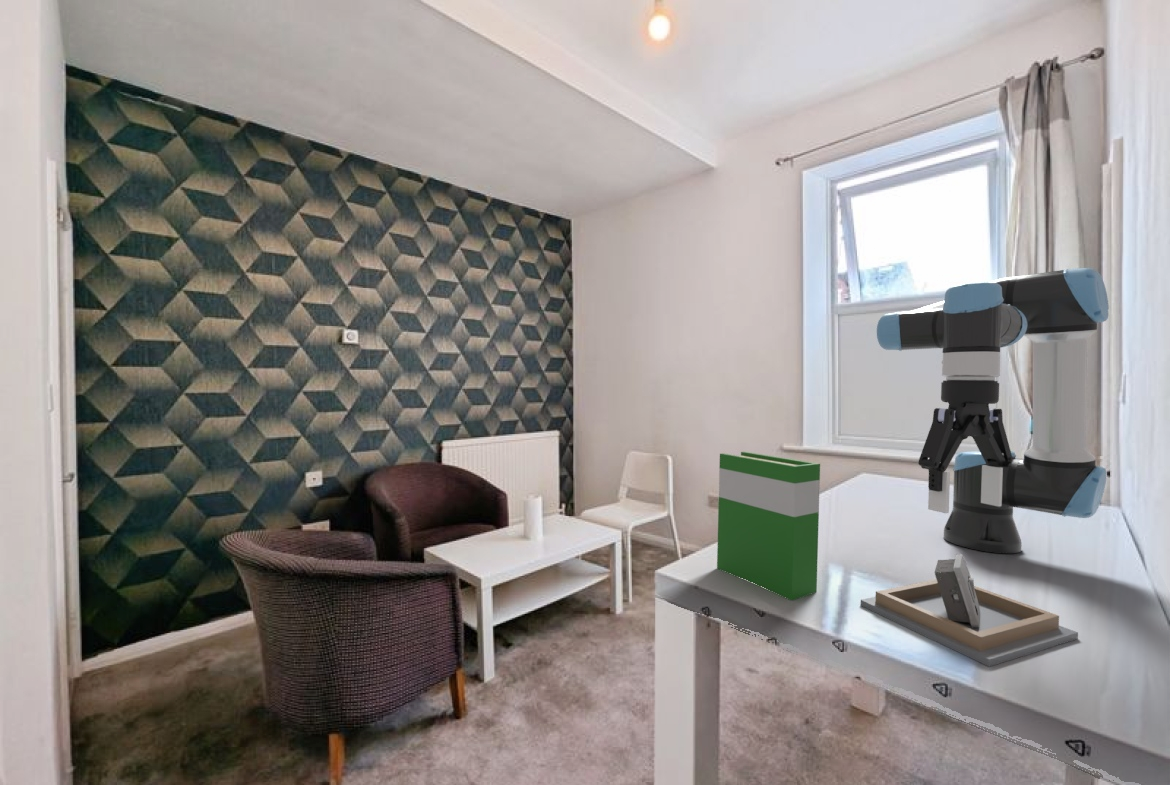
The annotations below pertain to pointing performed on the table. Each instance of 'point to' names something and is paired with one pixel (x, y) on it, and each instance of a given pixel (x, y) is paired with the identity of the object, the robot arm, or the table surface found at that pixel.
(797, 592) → the green open box
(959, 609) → the electrical switch
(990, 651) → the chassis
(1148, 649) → the table surface
